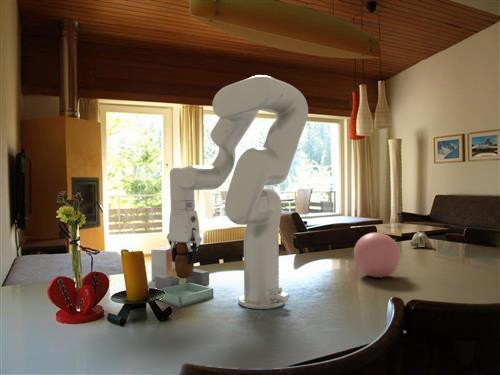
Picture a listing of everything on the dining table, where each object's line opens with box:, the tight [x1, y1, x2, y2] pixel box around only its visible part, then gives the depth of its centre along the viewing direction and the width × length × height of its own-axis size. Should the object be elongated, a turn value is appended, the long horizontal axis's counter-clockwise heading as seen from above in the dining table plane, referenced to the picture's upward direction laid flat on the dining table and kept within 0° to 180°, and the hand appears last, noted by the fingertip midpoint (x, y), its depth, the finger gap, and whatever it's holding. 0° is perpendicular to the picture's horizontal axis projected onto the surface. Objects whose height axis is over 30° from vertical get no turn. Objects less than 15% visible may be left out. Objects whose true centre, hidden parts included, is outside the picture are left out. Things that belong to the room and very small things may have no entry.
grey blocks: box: [154, 268, 210, 289], centre depth 127 cm, size 8×15×4 cm, turn 139°
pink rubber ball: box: [353, 232, 401, 278], centre depth 139 cm, size 15×20×15 cm
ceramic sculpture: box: [409, 230, 434, 248], centre depth 201 cm, size 11×9×15 cm
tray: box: [159, 282, 214, 308], centre depth 114 cm, size 11×12×2 cm
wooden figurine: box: [175, 242, 195, 279], centre depth 126 cm, size 7×6×15 cm
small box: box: [150, 246, 176, 281], centre depth 138 cm, size 8×6×10 cm
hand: (184, 262), depth 126 cm, fingers closed on wooden figurine, 7 cm apart
